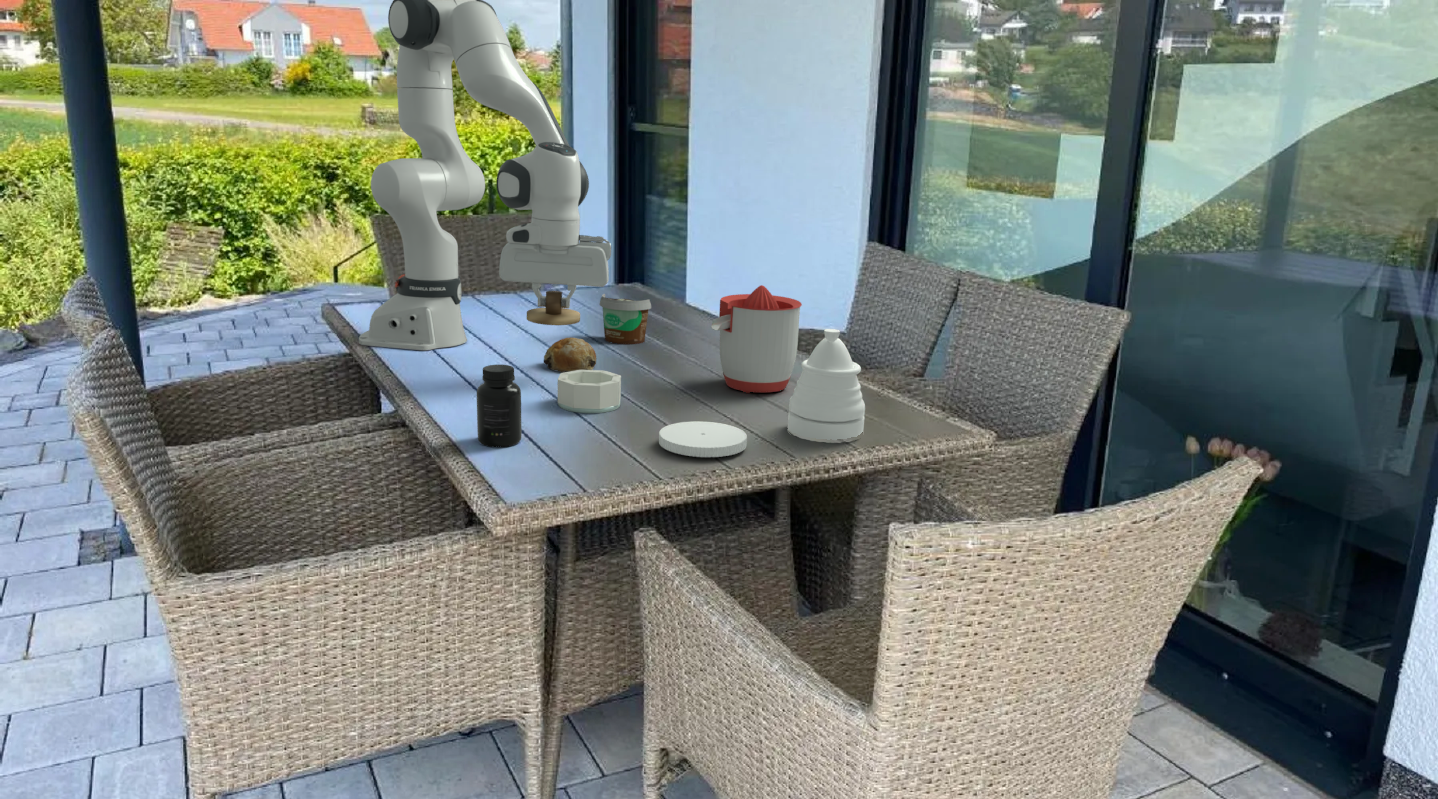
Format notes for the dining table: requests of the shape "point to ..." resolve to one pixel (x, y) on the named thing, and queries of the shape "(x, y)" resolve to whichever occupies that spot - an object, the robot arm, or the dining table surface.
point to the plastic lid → (702, 439)
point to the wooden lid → (553, 312)
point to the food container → (625, 320)
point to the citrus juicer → (758, 340)
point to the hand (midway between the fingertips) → (553, 307)
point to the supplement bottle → (499, 407)
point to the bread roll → (570, 355)
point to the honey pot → (827, 393)
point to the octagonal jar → (589, 391)
